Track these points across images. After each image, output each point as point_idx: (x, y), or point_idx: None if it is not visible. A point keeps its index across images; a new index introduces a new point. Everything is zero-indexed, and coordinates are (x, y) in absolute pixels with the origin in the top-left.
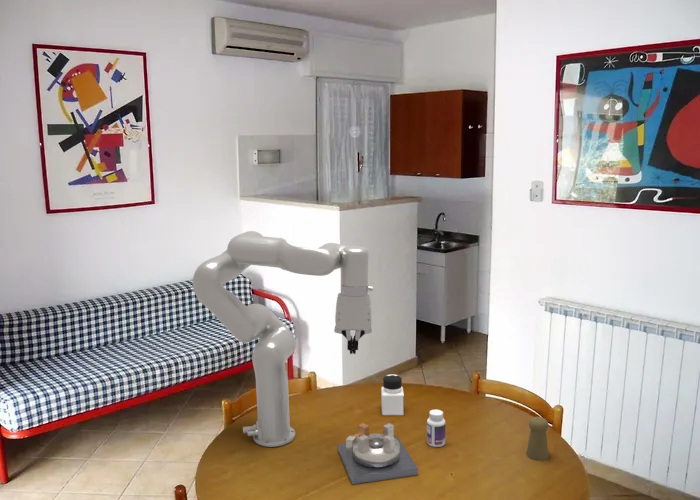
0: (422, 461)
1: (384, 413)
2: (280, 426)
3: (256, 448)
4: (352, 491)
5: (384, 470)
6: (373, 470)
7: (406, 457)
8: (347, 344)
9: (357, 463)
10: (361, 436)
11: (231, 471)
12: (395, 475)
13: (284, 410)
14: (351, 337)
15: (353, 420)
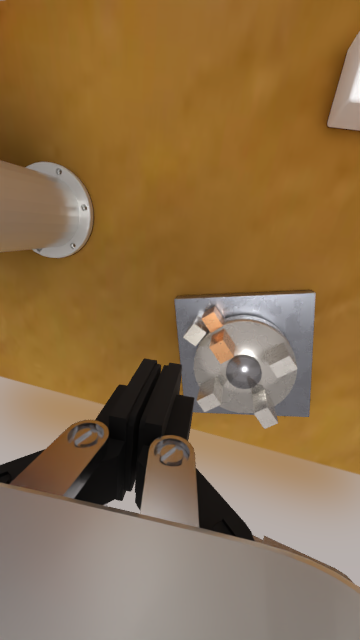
0: (334, 371)
1: (334, 125)
2: (45, 245)
3: (27, 253)
4: None
5: None
6: None
7: (301, 379)
8: (110, 400)
9: None
10: (205, 398)
11: (3, 322)
12: None
13: (29, 239)
14: (109, 499)
15: (236, 149)
